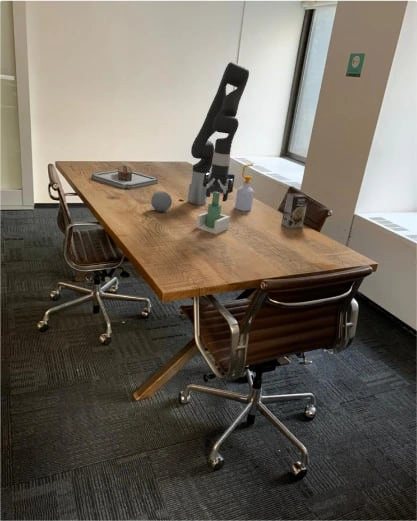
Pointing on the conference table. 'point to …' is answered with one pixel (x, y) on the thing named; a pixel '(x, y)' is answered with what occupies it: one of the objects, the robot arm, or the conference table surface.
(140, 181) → the grey square tray
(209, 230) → the u rest
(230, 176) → the vhs cassette tape
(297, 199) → the coffee box
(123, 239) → the conference table surface
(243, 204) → the soap bottle
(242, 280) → the conference table surface
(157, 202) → the decorative stone
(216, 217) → the green bottle
